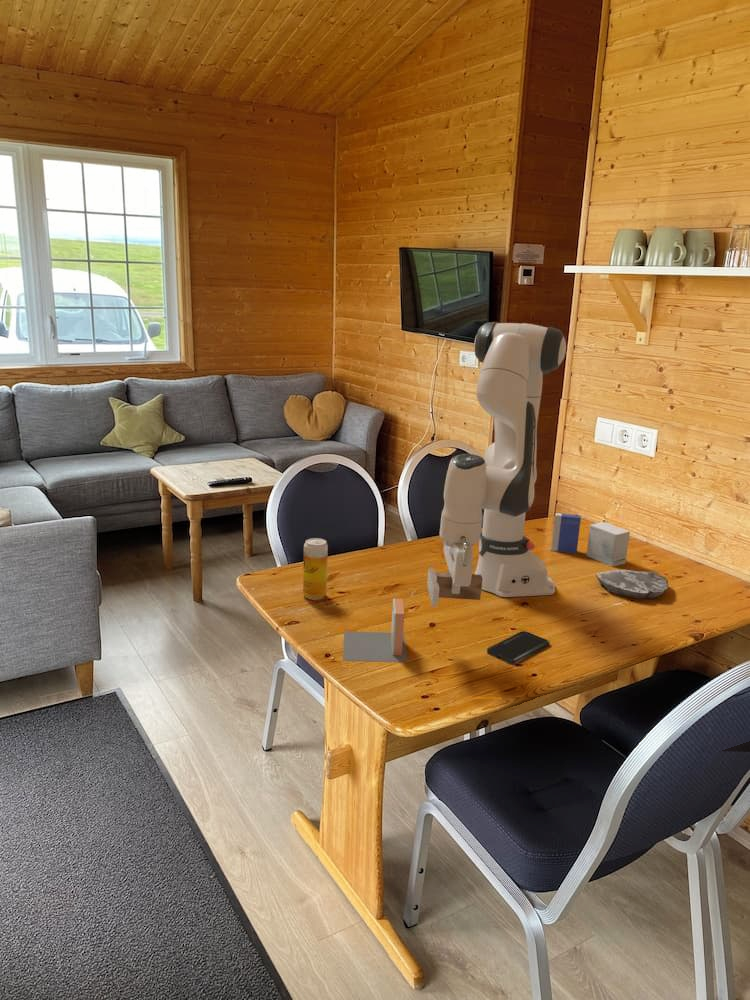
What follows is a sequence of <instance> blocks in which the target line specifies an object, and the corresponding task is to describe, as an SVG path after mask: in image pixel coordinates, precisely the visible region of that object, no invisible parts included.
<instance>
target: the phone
mask: <svg viewBox="0 0 750 1000" xmlns="http://www.w3.org/2000/svg"><path fill="white" fill-rule="evenodd" d="M547 647H550V640H549V639H546V638H543V637H541V636H539V635H536V634H534V633H533V632H529V631H526V630H525V631H524V630H522V631H520V632H517V633H515V634H513V635H511V636H510V637H508V638H504V639H503V640H501V641H499V642H497V643H495V644H492V645H491V646H489V647H487V650H486V653H487V654H488V655H490V656H492V657H494V658H497V659H500V660H501V661H504V662H506V663H507V664H510V665H516V664H518V663H520V662H522V661H524V660H525V659H527V658H529V657H531V656H533V655H535V654H537V653H539V652H540V651H542V650H544V649H546V648H547Z"/></svg>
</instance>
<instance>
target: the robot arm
mask: <svg viewBox="0 0 750 1000" xmlns="http://www.w3.org/2000/svg"><path fill="white" fill-rule="evenodd" d="M565 336H566V335H564V333H563V332H562V330H561V329H558V328H555V327H551V326H548V327H546V326H542V325H539V324H538V325H537V324H534V323H526V322H525V323H524V322H523V323H516V322H502V323H501V322H498V321H492V322H491V321H490V322H489V321H488V322H485V323H483V325H481V326H480V327H479V328H478V331H477V332H476V335H475V338H474V343H473V344H474V346H473V348H474V354H475V357H476V358H477V360H478V361H479V362H480V363H482V365H481V368H480V371H479V375H478V380H477V385H476V393H475V395H476V399H477V401H478V403H479V405H480V407H481V408H482V409H483V410H484V411H485V412H486V413H487V414H488V415H490V416H491V417H492V418H493V419H494V420H493V426H494V442H492V443H491V444H489V445H488V446H487V447H486V449H485V452H484V453H483V455H484V456H483V457H482V456H480V455H477V454H474V453H462V454H458V455H454V456H453V457H452V458H451V459H450V461H449V464H448V469H447V471H446V475H445V476H446V477H445V481H444V489H443V500H444V505H443V508H442V511H441V518H440V527H439V537H440V538H441V539H442V547H443V548H442V550H443V555H444V558H445V562H446V564H447V568H448V573H450V574H451V578H452V584H451V592H452V593H453V594H459V593H460V587H461V586H470V584H471V578H472V574H473V563H474V554H473V549H472V548H474V546H475V545H474V544H476V543H478V553H479V555H478V561H477V563H476V565H477V566H476V568H475V572H474V574H476V575H481V576H482V579H483V580H482V589H481V591H486V592H488V593H492V594H494V595H496V596H499V597H501V598H512V597H513V598H515V597H516V598H517V597H534V596H535V597H536V596H551V595H554V594H555V593H556V586H555V582H554V581H553V580H552V578H550V577H549V576H548V569H547V566H546V564H545V563H544V562H543V561H542V559H541V558H539V557H538V556H537V555H535V554H534V552H532V551H533V550H534V549H535V548H536V547H535V544H534V543H533V542H532V541H531V540H530V539H529V538H528V537H527V536H526V535H524V533H525V532H524V531H525V524H526V523H525V521H526V513H527V512H528V511H529V510H530V509H531V508H532V505H533V503H534V499H535V484H536V482H537V477H538V471H537V452H538V451H537V449H538V447H537V446H538V445H537V443H538V441H537V439H538V438H537V431H538V430H537V429H538V420H539V413H540V412H539V411H540V405H541V398H542V392H543V383H544V382H543V379H544V378H543V376H546V375H548V373H550V372H553V371H555V370H557V369H558V368H559V367H560V366H561V364H562V362H563V361H564V359H565V356H566V354H567V353H566V352H567V342H566V338H565ZM483 511H484V512H483Z"/></svg>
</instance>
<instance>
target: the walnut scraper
mask: <svg viewBox="0 0 750 1000" xmlns="http://www.w3.org/2000/svg"><path fill="white" fill-rule="evenodd" d="M427 572H428V573H427V582H426V584H427V590H428V595H429V599H430V602H431V607H438V606H439V599H440V598H441V599H456V600H473V601H477V600H478V601H480V600H481V596H482V595H481V594H482V580H483V579H482V576H481V575H476V574H475V573H474V574H473V573H472V578H471V584H470V586H461V587H460V593H459V594H453V593H452V592H451V584H452V578H451V574H450V573H449V572H443V571H442V572H441V571H440V572H437V571H436V570H435V567H429V568H428V571H427Z"/></svg>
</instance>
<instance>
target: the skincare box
mask: <svg viewBox="0 0 750 1000" xmlns="http://www.w3.org/2000/svg"><path fill="white" fill-rule="evenodd" d="M630 533H631V531H629V530H627V529H624V528H622V527H619V526H616V525H614V524H611V523H607V522H605V521H601V522H597V523H592V524H590V525H589V531H588V539H587V548H586V549H587V550H586V557H588V558H591V559H593V560H595V561H598V562H600V563H603V564H605V565H606V566H609V567H612V568H614V567H617V566H621V564H622V565H625V564H626V563H627V555H628V548H629V541H630V540H629V539H630V536H631V535H630Z"/></svg>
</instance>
